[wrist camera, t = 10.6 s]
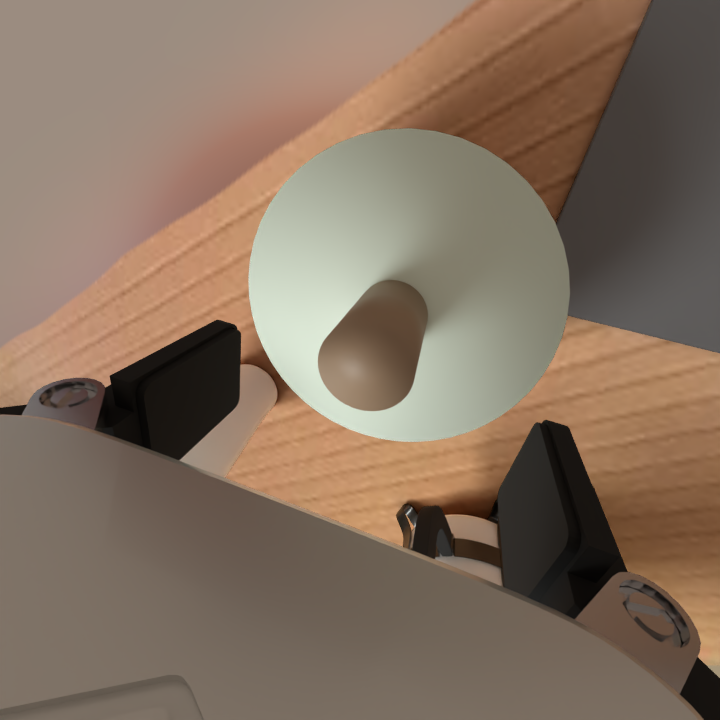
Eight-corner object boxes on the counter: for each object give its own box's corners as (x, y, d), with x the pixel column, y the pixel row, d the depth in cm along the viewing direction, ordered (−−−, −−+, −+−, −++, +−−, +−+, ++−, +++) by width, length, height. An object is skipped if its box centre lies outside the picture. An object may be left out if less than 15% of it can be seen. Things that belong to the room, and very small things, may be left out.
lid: (634, 171, 14) (774, 162, 8) (491, 460, 22) (505, 572, 16) (266, 102, 16) (145, 52, 10) (254, 388, 24) (182, 461, 18)
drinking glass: (264, 426, 36) (155, 563, 23) (211, 383, 35) (68, 500, 22) (300, 389, 33) (197, 524, 20) (243, 340, 32) (97, 448, 19)
